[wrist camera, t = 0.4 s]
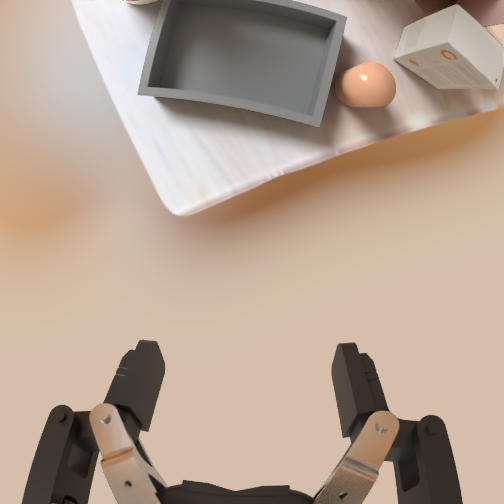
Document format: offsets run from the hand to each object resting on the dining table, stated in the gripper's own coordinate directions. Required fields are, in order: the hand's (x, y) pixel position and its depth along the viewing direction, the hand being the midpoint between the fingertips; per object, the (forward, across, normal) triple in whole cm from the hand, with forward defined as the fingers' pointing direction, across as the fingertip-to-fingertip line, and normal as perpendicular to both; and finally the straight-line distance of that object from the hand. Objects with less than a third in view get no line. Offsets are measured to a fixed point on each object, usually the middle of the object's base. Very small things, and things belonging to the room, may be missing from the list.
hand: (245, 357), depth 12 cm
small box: (+28, -23, -20) cm, 41 cm away
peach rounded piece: (+27, -12, -13) cm, 33 cm away
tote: (+27, +1, -17) cm, 32 cm away
